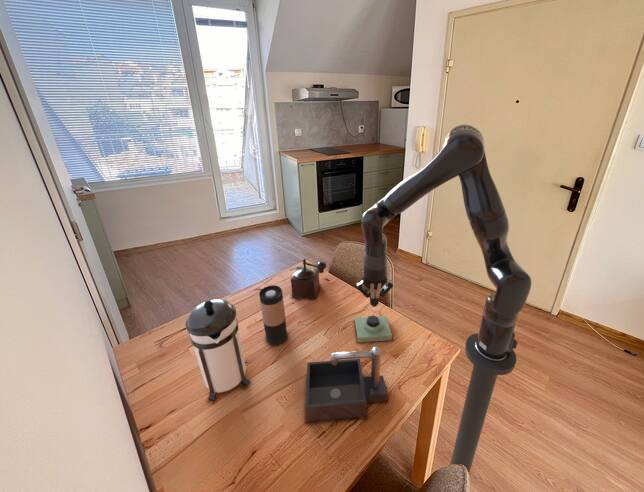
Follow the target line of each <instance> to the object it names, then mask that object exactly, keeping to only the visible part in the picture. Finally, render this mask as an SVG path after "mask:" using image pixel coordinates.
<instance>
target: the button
mask: <svg viewBox="0 0 644 492" xmlns="http://www.w3.org/2000/svg"><path fill="white" fill-rule="evenodd" d="M376 316H377V315H369V317H368V316H367V317H368V322H367V323H368V325H369V326H370V327H376V326H378V323H379V319H378V318H377V317H376Z"/></svg>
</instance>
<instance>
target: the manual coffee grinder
mask: <svg viewBox="0 0 644 492" xmlns="http://www.w3.org/2000/svg"><path fill="white" fill-rule="evenodd" d="M302 264H303V266H297V267H296V268H295V270H294V272H293V274H292V276H291V277H290V285H291V293H292V294H291V295H292V296H291V297H292V298H294V299H295V298H296V299H301V300H316V298H317V296H318V293H319V291H320V286H321V285H320V274H323V273H324V272H325V271H324V270H325V269H326V268H327V263H326V262H325V261H324V260H320V261H318V262H317V264H314V263H310V262H307V259H306V258H303V259H302ZM307 266H309V267H307Z"/></svg>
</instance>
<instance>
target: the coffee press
mask: <svg viewBox="0 0 644 492" xmlns="http://www.w3.org/2000/svg"><path fill="white" fill-rule="evenodd" d="M185 330H186V332H188V334H189V339H190V343H191V345H192V346H193V350H194V353H195V358H196V360H197V364H198V367H199V370H200V374H201V377H202V380H203V383H204V386H205V387H206V389H208V390H209V394H208V401H210V402H215V401H216V399H217V395H218V393H225V392H227V391H228V392H229V391H230V390H232V389H234V388H235V387H237V386H238V385H239V384H240V385H242V386H243V387H248V385H249V384H250V380H249V379H248V378H247V377H246V371H247V366H246V365H247V364H246V360H245V356H244V351H243V346H242V345H243V344H242V341H241V336H240V331H239V322H238V318H237V309H236V307H235V305H233V303H231V302H229V301H227V300H225V299H218V298H217V299H216V298H215V299H210V300H206V301H203V302H202V303H200V304H198V305H196V306H195V307H194V308H193V309H192V310H191V311H190V312H189V314H188V316H187V318H186V320H185Z"/></svg>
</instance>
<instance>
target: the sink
mask: <svg viewBox="0 0 644 492" xmlns="http://www.w3.org/2000/svg"><path fill="white" fill-rule="evenodd" d="M306 365H307V366H306V369H307V370H306V386H305V387H306V388H305V417H306V423H317V422H328V421H339V420H350V419H362V418H363V419H364V418H367V404H369V403H370V404H371V403H380V402H387V401H388V391H387V386H386V383H385V379H384V375H380V377H379V387H378V388H373V387H372V386H371V375H370V376H363V370H362V363H361V358H357V359H341V360H338V364H337V365H332V364H331V360H323V361H310V362H309V361H308V362H307V363H306Z"/></svg>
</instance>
